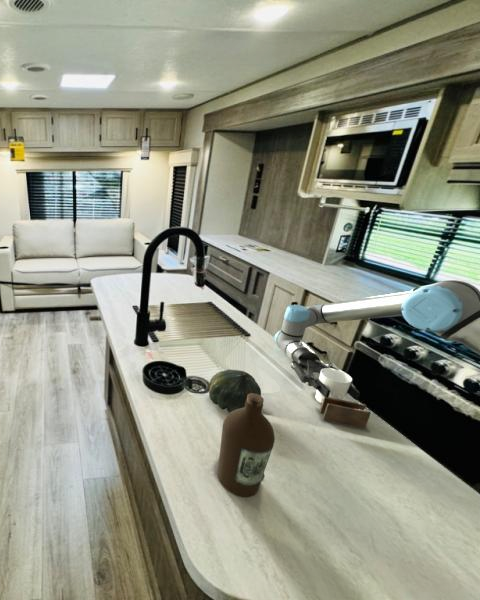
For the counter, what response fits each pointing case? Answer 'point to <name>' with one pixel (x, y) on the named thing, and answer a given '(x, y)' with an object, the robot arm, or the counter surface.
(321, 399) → the white cup
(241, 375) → the squash
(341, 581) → the counter surface
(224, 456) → the olive oil
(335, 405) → the holder
